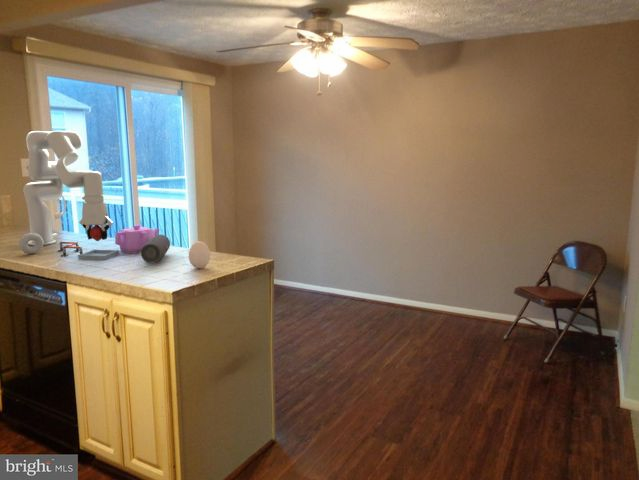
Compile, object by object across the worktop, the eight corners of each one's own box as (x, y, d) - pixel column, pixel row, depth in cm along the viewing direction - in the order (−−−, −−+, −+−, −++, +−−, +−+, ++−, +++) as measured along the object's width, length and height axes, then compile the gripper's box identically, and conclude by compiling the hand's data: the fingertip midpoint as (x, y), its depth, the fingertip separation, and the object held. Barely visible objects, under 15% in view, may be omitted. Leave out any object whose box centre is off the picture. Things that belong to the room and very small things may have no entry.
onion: (93, 240, 212) (92, 222, 211) (106, 239, 213) (105, 222, 211) (88, 242, 206) (87, 224, 205) (101, 242, 207) (100, 224, 205)
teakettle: (114, 253, 217) (112, 227, 215) (126, 246, 234) (125, 222, 232) (151, 253, 218) (149, 227, 216) (161, 246, 235) (159, 222, 233)
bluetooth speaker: (163, 265, 195) (161, 242, 193) (140, 266, 194) (138, 242, 192) (172, 254, 217) (171, 233, 216) (151, 254, 216) (150, 233, 214)
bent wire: (60, 250, 224) (59, 241, 223) (98, 250, 223) (97, 241, 222) (42, 256, 211) (41, 246, 210) (82, 257, 210) (81, 247, 209)
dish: (93, 253, 217) (93, 249, 217) (118, 254, 216) (118, 250, 216) (78, 259, 205) (78, 255, 205) (105, 259, 204) (104, 255, 204)
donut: (21, 256, 210) (19, 234, 209) (19, 255, 213) (16, 233, 211) (45, 252, 218) (43, 231, 216) (43, 251, 220) (40, 231, 218)
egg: (186, 270, 187) (184, 243, 185) (192, 265, 196) (191, 239, 193) (207, 271, 187) (206, 243, 185) (213, 265, 195) (212, 239, 193)
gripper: (70, 199, 203) (74, 240, 206) (108, 200, 202) (111, 241, 205) (80, 198, 210) (84, 237, 214) (117, 198, 209) (120, 238, 212)
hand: (97, 238), depth 209 cm, fingers closed on onion, 5 cm apart
